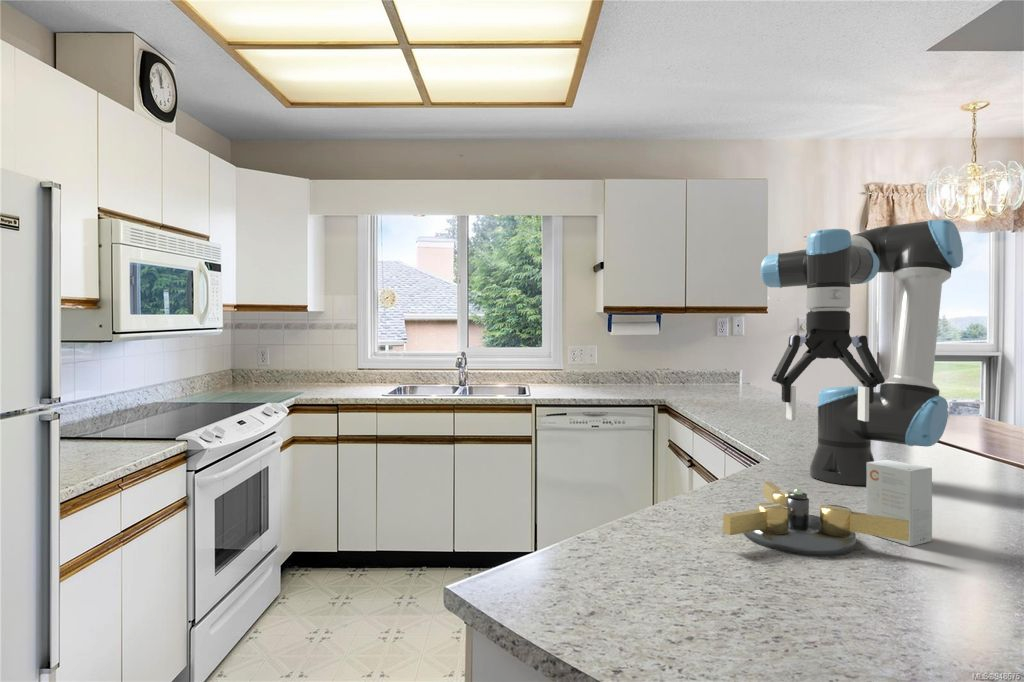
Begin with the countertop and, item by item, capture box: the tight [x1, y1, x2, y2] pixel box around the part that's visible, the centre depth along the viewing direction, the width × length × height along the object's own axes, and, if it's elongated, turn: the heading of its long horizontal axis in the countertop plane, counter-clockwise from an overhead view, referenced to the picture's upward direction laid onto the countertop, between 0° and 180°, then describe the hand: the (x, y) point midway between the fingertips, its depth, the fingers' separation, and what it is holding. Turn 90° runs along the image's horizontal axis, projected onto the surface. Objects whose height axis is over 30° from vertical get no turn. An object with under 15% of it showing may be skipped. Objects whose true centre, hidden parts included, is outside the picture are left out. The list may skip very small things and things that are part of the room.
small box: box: [865, 459, 933, 547], centre depth 108 cm, size 8×6×13 cm
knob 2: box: [762, 481, 791, 507], centre depth 117 cm, size 13×5×4 cm, turn 174°
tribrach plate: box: [743, 488, 857, 557], centre depth 107 cm, size 18×18×9 cm
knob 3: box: [819, 504, 909, 541], centre depth 101 cm, size 13×5×4 cm, turn 54°
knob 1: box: [722, 502, 788, 536], centre depth 103 cm, size 13×5×4 cm, turn 114°
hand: (826, 420), depth 117 cm, fingers open, 13 cm apart
